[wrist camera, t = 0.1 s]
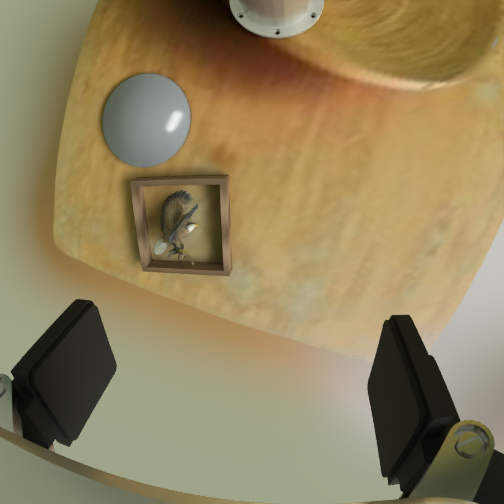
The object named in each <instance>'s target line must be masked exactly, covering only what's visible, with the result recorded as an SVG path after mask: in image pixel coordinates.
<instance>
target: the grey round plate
mask: <svg viewBox="0 0 504 504" xmlns="http://www.w3.org/2000/svg"><path fill="white" fill-rule="evenodd" d="M190 126H191V109H190V105H189V101H188V99H187V97H186V95H185V93H184V91H183V90H182V89H181V88H180V87H179V86H178V85H177V84H176V83H175V82H174V81H172V80H171V79H169V78H167V77H164V76H162V75H157V74H148V73H147V74H140V75H136V76H133V77H131V78H129V79H127V80H125V81H124V82H123V83H121V84H120V85H119V86H118V87H117V88H116V89H115V90H114V91H113V93H112V94H111V96H110V97H109V99H108V101H107V103H106V106H105V109H104V114H103V132H104V136H105V139H106V142H107V144H108V146H109V148H110V149H111V151H112V152H113V153H114V154H115V155H116V156H117V157H118V158H119V159H120V160H122V161H123V162H125V163H127V164H129V165H132V166H136V167H152V166H155V165H158V164H161V163H163V162H165V161H167V160H169V159H170V158H171V157H173V156H174V155H175V154H176V153H177V152H178V151H179V150H180V149H181V147H182V146H183V144H184V143H185V141H186V139H187V136H188V134H189V130H190Z"/></svg>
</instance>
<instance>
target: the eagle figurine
mask: <svg viewBox="0 0 504 504" xmlns="http://www.w3.org/2000/svg"><path fill="white" fill-rule="evenodd" d="M191 201H192V198H191V197H190V194H187V191H183V190H181V191H180V192H178V191H177V192H176V193H175V195H174V194H172V195H171V196H169V197H168V199H167V201H165V204H164V206H163V210H162V216H161V229H162V231H163V233H164V235H165V237H164V238H163V239H160V240H158V241H157V242H156V245H155V248H154V253H155V254H157V255H160V254H162V253H163V252H164V251H165V249H166V247H167V246H168V245H170V244H171V243H172V244H173V246H174V249H173V250H170V251H169V252H170V254H169V255H168V259H169V258H170V257H171V256H172V255H174V254H177V253H179V254H178V258H179V260H181V259H183V257H184V258H186V259H187V260H188V261H190V263H191V264H192V265H194V262H193V259H191V257H190V256H188V255H187V253H186V252H185V250H184V246H183V244H182V243H181V239H182V238H184V237H186V236H187V235H188V234H189V233H190V232H191V231H192V230H193V229H194V228H195V227H198V225H197V224H190V225H188V226H186V224H187V222H188V221H189V220H190V218H191V216H192V214H193V213H194V212H195V211H196V209H197V208H198V204H196V205H195V206H194V207H193V208H192V210H191V211H190V212H189V213H187V214H185V215H183V214H184V212H185V210H186V208H187V207H188V206H189V204H190V203H191Z"/></svg>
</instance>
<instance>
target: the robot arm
mask: <svg viewBox="0 0 504 504" xmlns="http://www.w3.org/2000/svg"><path fill="white" fill-rule="evenodd" d="M229 3H230V8H231V11H232V13H233V15H234V17H235V19H236V20H237V21H238V22H239V23H240V25H242V26H243V27H244V28H245V29H246V30H248V31H250V32H252V33H253V34H256V35H259V36H261V37H266V38H273V39H282V38H290V37H293V36H297V35H299V34H301V33H304V32H305V31H307V30H308V29H310V28H311V27H312V26H313V25H314V24H315V23H316V22H317V21H318V19H319V17H320V16H321V13H322V10H323V6H324V0H229ZM240 16H243V17H242V18H240ZM311 16H315V18H312V17H311ZM276 32H279V35H276ZM116 367H117V365H116V361H115V358H114V355H113V353H112V350H111V347H110V344H109V341H108V338H107V335H106V332H105V329H104V326H103V323H102V320H101V317H100V314H99V310H98V308H97V306H95V305H94V303H93V302H92V301H90V300H82V299H76V300H75V301H74V302H73V303H72V304H71V305H70V306H69V307H68V308H67V309H66V310H65V311H64V312H63V313H62V314H61V315H60V316H59V318H58V319H57V320H56V321H55V322H54V323H53V324H52V325H51V326H50V327H49V328H48V329H47V330H46V332H45V333H44V334H43V335H42V336H41V337H40V338H39V339H38V340H37V342H36V343H35V344H34V345H33V346H32V347H31V348H30V349H29V350H28V352H27V353H26V354H25V355H24V356H23V357H22V359H21V360H20V361H19V362H18V363H17V365H16V366H15V367H14V368H13V369H12V370H11V373H12V375H13V376H14V379H13V381H11V379H10V378H9V377H8V376H7V375H5V374H0V504H270V503H254V502H244V501H235V500H226V499H219V498H212V497H206V496H199V495H194V494H188V493H183V492H177V491H173V490H168V489H164V488H160V487H156V486H152V485H148V484H143V483H140V482H136V481H133V480H129V479H126V478H123V477H119V476H116V475H113V474H110V473H107V472H104V471H101V470H98V469H95V468H92V467H90V466H87V465H84V464H82V463H79V462H76V461H74V460H71V459H69V458H66V457H64V456H62V455H59V454H57V453H55V450H54V445H53V442H54V440H55V439H56V441H57V442H59V443H61V444H63V445H66V446H68V447H70V445H71V443H72V441H73V440H76V439H77V438H78V436H79V435H80V433H81V431H82V429H83V427H84V426H85V424H86V422H87V420H88V418H89V417H90V415H91V413H92V411H93V409H94V408H95V406H96V404H97V403H98V401H99V399H100V398H101V396H102V394H103V392H104V391H105V389H106V387H107V386H108V384H109V382H110V380H111V379H112V377H113V375H114V374H115V372H116ZM368 395H369V400H370V406H371V411H372V417H373V422H374V428H375V434H376V440H377V446H378V452H379V459H380V466H381V473H382V476H383V477H387V478H388V485H395V484H400V490H401V491H402V492H403V493H402V495H401V496H400V497H399V499H396V500H385V501H372V502H361V503H348V504H504V454H502V453H500V452H498V451H496V450H494V445H495V444H494V437H493V435H492V433H491V431H490V430H489V429H488V428H487V426H485V425H484V424H482V423H480V422H478V421H474V420H464V421H460V419H459V416H458V413H457V411H456V408H455V406H454V403H453V401H452V398H451V396H450V393H449V391H448V389H447V386H446V384H445V381H444V379H443V377H442V374H441V372H440V370H439V367H438V365H437V363H436V361H435V359H434V357H433V356H431V355H428V352H427V350H426V348H425V346H424V344H423V341H422V339H421V337H420V335H419V333H418V331H417V329H416V327H415V325H414V322H413V320H412V318H411V317H410V315H392V316H391V317H390V319H389V320H385V322H384V324H383V328H382V332H381V336H380V340H379V344H378V348H377V352H376V355H375V359H374V363H373V366H372V370H371V373H370V377H369V380H368ZM346 504H347V503H346Z"/></svg>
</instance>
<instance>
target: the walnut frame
mask: <svg viewBox="0 0 504 504" xmlns="http://www.w3.org/2000/svg"><path fill="white" fill-rule="evenodd" d="M130 185H131V194H132V202H133V211H134V218H135V226H136V233H137V239H138V246H139V252H140V258H141V264H142V270H143V271H146V272H163V273H179V274H197V275H216V276H230V273H231V270H232V253H231V227H230V198H229V175H199V176H164V177H142V178H136V179H134V180H132V181H130ZM160 185H220V204H221V226H222V246H223V263H200V262H194V265H192V264H191V263H190V262H178V261H158V260H152V256H151V249H150V242H149V234H148V227H147V219H146V211H145V202H144V192H143V186H160Z"/></svg>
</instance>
